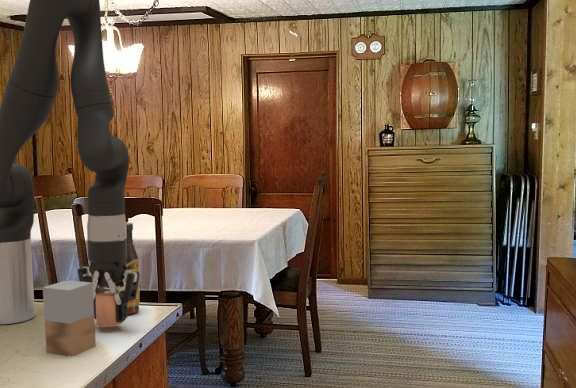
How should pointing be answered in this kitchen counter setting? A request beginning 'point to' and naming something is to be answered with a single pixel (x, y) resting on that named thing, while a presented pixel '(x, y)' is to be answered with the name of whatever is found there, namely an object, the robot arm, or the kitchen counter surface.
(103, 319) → the clay cylinder
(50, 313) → the slate block
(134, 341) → the kitchen counter surface
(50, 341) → the walnut block
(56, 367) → the kitchen counter surface
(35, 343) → the kitchen counter surface
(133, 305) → the sauce bottle
